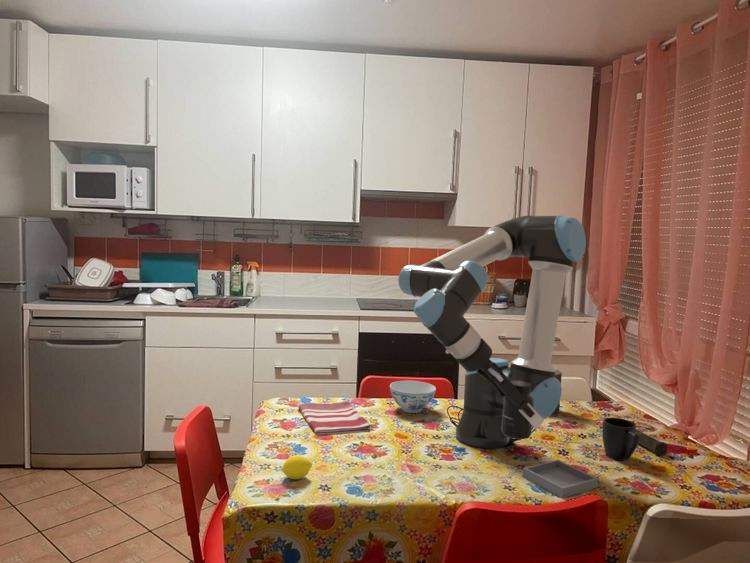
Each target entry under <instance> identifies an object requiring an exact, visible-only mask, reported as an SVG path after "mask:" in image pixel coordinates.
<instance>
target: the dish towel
mask: <svg viewBox="0 0 750 563" xmlns="http://www.w3.org/2000/svg"><path fill="white" fill-rule="evenodd" d="M298 410H299V411H300V412H301V415H302V416H303V418H304V419H305V421H306V422H307V423H308V425H309V427H310V428H311V429H312V431H313V432H314V433H315V435H317V436H322V435H334V434H337V435H338V434H346V433H347V434H349V433H361V432H362V433H363V432H370V429H371V424H370V423H369V422H368V420H367V419H365V418H364V417H363V416H361V414H360V413H359V412H358V411H357V410H356V409H354V407H353V406H352V405H351V403H350V401H349V400H348V401H347V400H346V401H341V402H335V403H316V402H306V403H302V404H300V405H298Z"/></svg>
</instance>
